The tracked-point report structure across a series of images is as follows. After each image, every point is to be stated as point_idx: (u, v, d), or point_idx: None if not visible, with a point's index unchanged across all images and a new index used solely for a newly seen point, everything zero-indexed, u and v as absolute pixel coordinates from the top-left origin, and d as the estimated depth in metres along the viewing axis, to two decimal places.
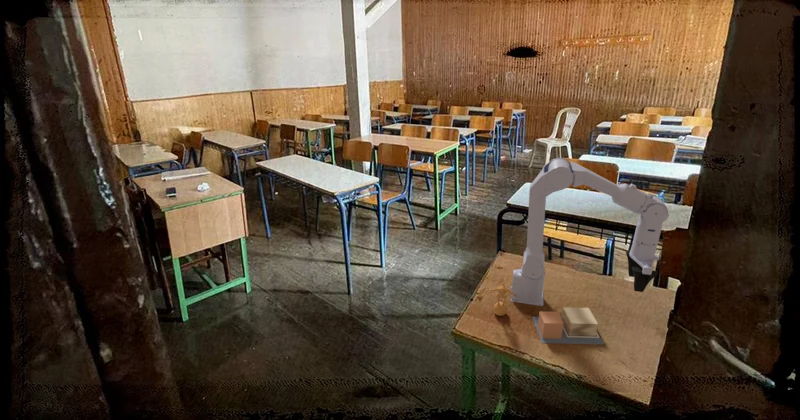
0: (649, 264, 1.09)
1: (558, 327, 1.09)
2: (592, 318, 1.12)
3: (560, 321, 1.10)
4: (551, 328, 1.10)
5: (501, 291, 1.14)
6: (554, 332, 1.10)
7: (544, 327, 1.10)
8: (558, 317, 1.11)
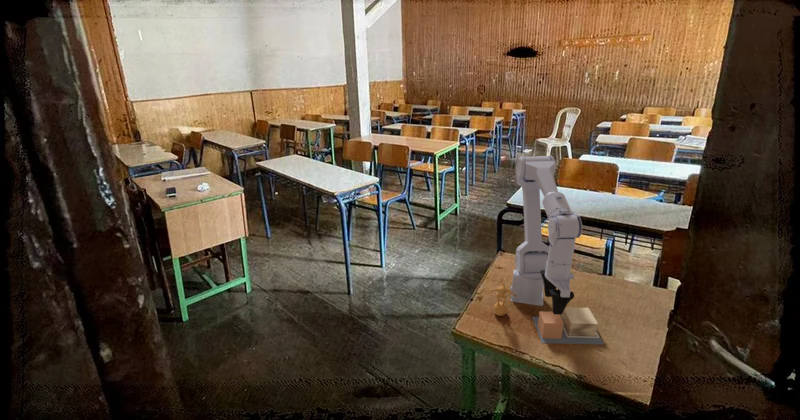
0: (566, 285, 1.02)
1: (558, 327, 1.09)
2: (592, 318, 1.12)
3: (560, 321, 1.10)
4: (551, 328, 1.10)
5: (501, 291, 1.14)
6: (554, 332, 1.10)
7: (544, 327, 1.10)
8: (558, 317, 1.11)
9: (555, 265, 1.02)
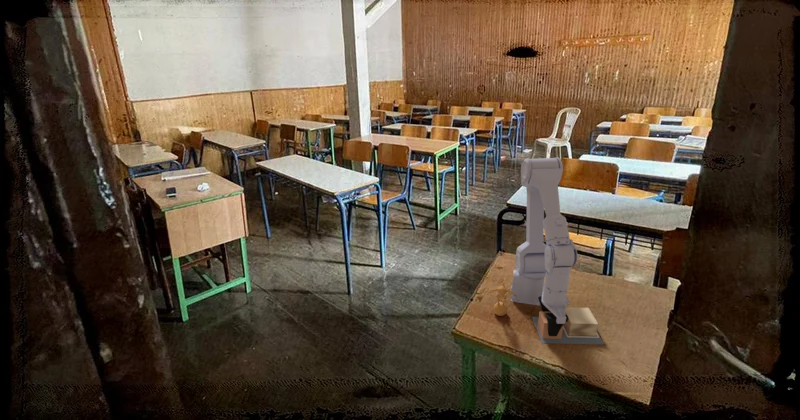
0: (562, 312, 1.05)
1: None
2: (592, 318, 1.12)
3: None
4: None
5: (501, 291, 1.14)
6: None
7: (544, 327, 1.10)
8: None
9: (551, 292, 1.05)
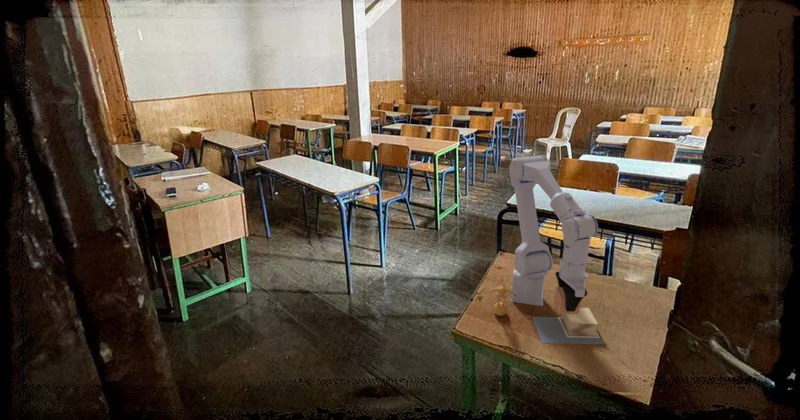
0: (581, 285, 1.03)
1: None
2: (592, 318, 1.12)
3: None
4: None
5: (501, 291, 1.14)
6: None
7: (561, 302, 1.08)
8: None
9: (570, 265, 1.03)
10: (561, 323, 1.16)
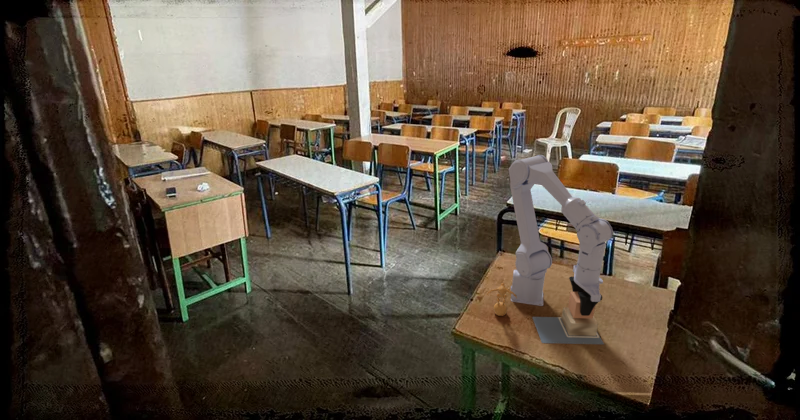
0: (596, 290, 1.04)
1: None
2: (592, 318, 1.12)
3: None
4: None
5: (501, 291, 1.14)
6: None
7: (576, 306, 1.09)
8: None
9: (585, 270, 1.05)
10: (561, 323, 1.16)
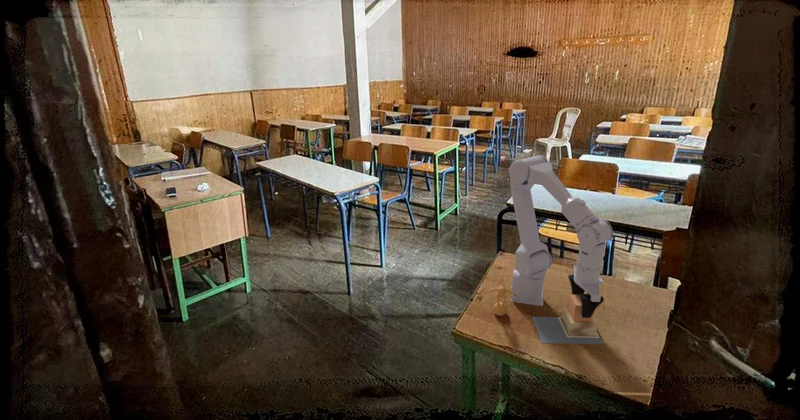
0: (596, 290, 1.04)
1: None
2: None
3: None
4: None
5: (502, 291, 1.14)
6: None
7: (575, 309, 1.10)
8: None
9: (585, 270, 1.05)
10: (561, 323, 1.16)
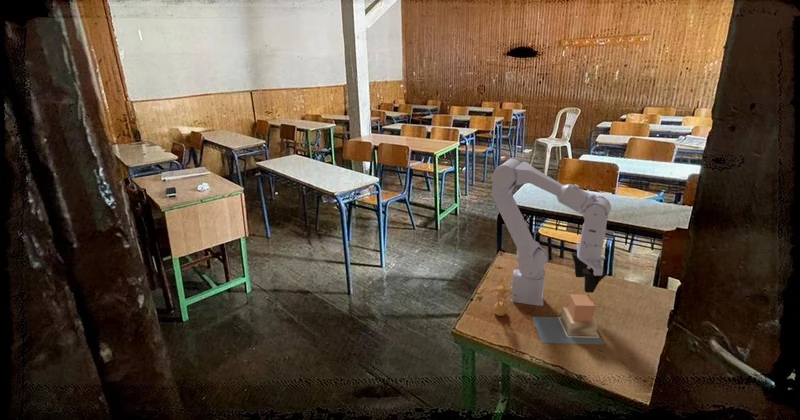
0: (598, 265, 1.10)
1: (590, 309, 1.09)
2: None
3: (591, 303, 1.10)
4: (583, 310, 1.10)
5: (501, 291, 1.14)
6: (585, 314, 1.10)
7: (575, 309, 1.10)
8: (589, 300, 1.11)
9: (588, 246, 1.10)
10: (561, 323, 1.16)
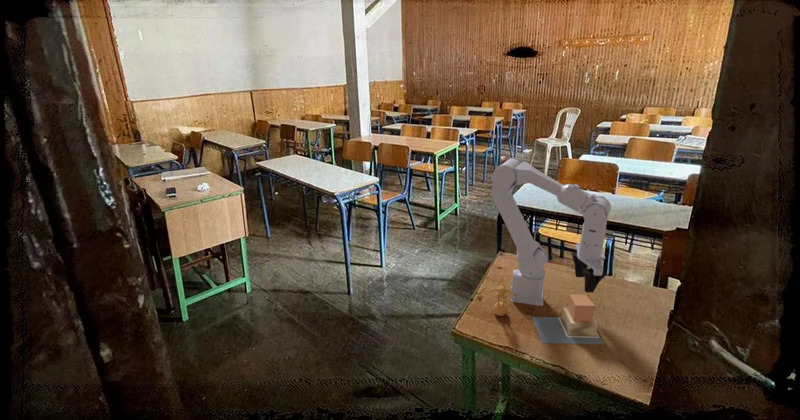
0: (598, 265, 1.10)
1: (590, 309, 1.09)
2: None
3: (591, 303, 1.10)
4: (583, 310, 1.10)
5: (501, 291, 1.14)
6: (585, 314, 1.10)
7: (575, 309, 1.10)
8: (589, 300, 1.11)
9: (588, 246, 1.10)
10: (561, 323, 1.16)
